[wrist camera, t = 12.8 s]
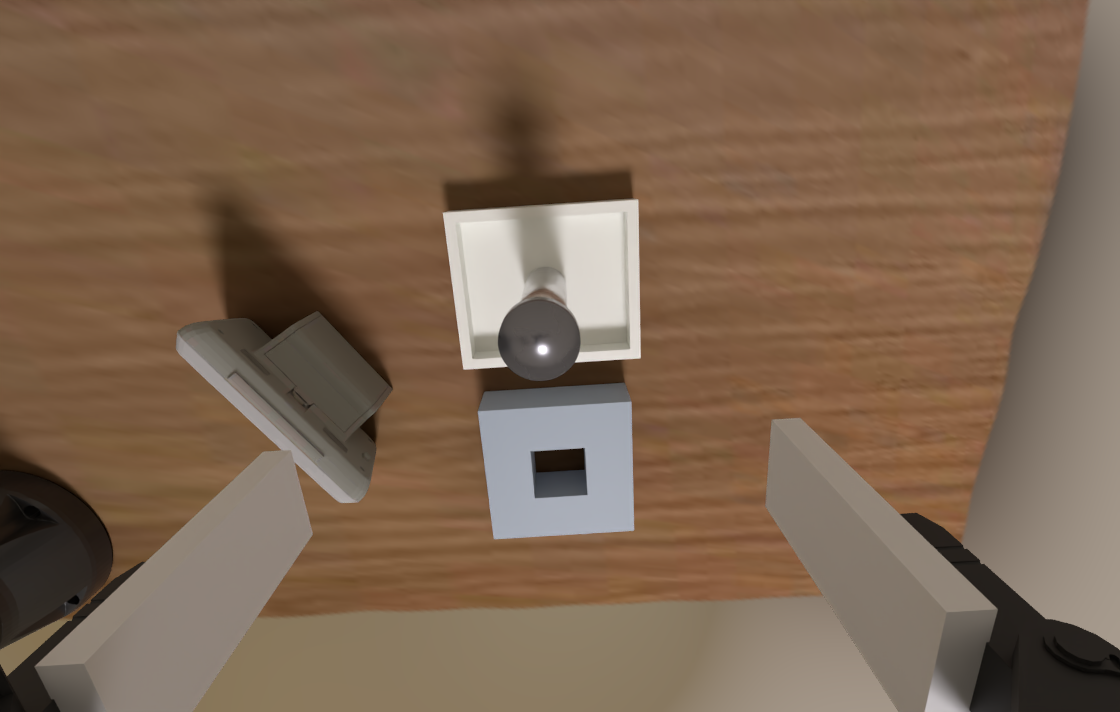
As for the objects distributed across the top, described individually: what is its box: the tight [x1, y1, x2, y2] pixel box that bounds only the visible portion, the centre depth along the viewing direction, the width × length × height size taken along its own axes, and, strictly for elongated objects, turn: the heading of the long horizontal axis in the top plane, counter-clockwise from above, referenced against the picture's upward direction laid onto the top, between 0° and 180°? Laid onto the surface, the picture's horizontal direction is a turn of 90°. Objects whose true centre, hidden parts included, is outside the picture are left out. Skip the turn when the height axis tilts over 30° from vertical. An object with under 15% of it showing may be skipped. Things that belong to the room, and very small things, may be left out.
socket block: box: [478, 383, 634, 539], centre depth 44 cm, size 12×12×4 cm
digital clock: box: [176, 311, 393, 503], centre depth 39 cm, size 16×9×11 cm, turn 26°
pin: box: [498, 267, 581, 381], centre depth 34 cm, size 4×4×14 cm
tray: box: [443, 198, 641, 370], centre depth 40 cm, size 14×12×2 cm
